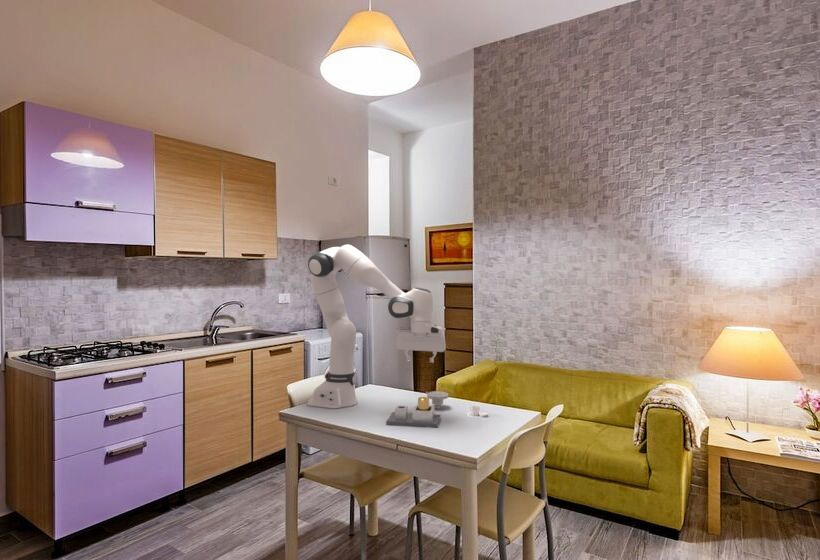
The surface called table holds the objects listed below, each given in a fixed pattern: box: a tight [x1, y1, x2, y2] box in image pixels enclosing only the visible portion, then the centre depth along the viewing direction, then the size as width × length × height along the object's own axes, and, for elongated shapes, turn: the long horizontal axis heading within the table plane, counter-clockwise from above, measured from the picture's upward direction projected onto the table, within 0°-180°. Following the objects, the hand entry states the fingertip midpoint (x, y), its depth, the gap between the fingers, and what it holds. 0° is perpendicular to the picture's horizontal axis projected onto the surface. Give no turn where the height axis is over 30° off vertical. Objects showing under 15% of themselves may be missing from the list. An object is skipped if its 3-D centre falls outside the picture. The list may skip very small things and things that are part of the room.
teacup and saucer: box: [466, 404, 489, 419], centre depth 193 cm, size 9×8×4 cm
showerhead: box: [425, 390, 449, 410], centre depth 203 cm, size 9×7×10 cm
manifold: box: [385, 404, 441, 429], centre depth 184 cm, size 20×12×6 cm, turn 80°
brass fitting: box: [417, 396, 430, 411], centre depth 183 cm, size 4×4×8 cm
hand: (420, 361), depth 187 cm, fingers open, 8 cm apart
